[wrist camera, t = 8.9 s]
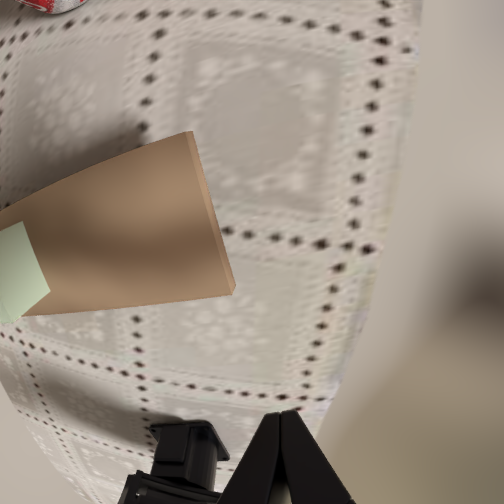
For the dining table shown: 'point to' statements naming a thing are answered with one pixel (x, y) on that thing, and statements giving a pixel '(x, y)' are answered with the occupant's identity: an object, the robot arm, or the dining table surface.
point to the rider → (18, 274)
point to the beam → (127, 232)
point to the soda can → (53, 5)
